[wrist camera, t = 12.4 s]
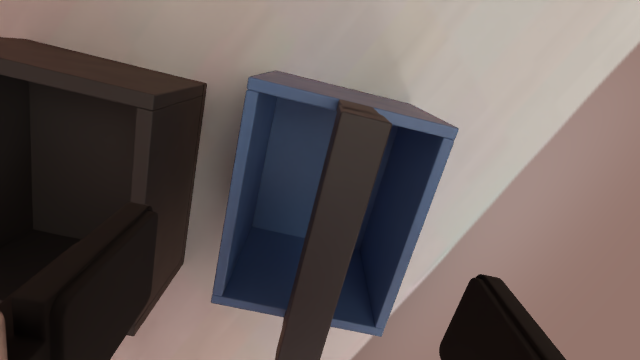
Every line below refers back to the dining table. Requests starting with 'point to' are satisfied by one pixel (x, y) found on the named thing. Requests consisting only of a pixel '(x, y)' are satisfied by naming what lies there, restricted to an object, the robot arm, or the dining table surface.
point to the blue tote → (325, 206)
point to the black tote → (91, 156)
